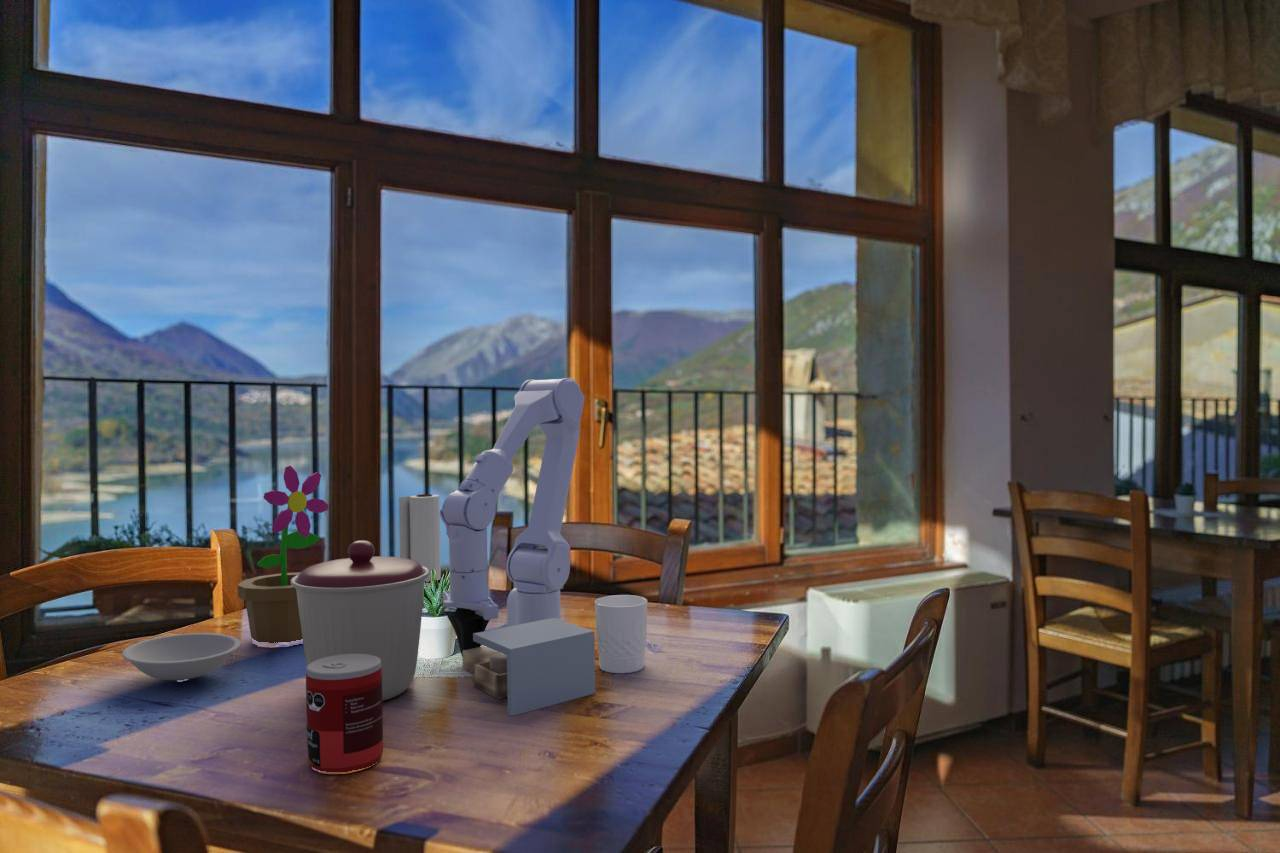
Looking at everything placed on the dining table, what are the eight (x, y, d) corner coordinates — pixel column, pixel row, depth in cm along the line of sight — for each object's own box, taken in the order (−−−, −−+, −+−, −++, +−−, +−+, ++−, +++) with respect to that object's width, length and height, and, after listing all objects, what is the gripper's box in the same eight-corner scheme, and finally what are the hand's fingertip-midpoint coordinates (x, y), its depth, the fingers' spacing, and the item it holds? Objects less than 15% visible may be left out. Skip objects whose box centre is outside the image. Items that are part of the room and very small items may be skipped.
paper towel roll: (446, 594, 178) (444, 493, 177) (432, 601, 172) (430, 496, 172) (414, 593, 179) (413, 493, 179) (400, 599, 174) (398, 496, 173)
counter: (474, 695, 114) (473, 633, 114) (554, 675, 122) (553, 617, 122) (511, 716, 106) (510, 649, 106) (595, 693, 115) (594, 631, 114)
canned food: (319, 749, 97) (317, 654, 97) (390, 746, 97) (388, 651, 97) (297, 778, 89) (295, 675, 89) (375, 774, 90) (373, 672, 90)
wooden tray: (446, 671, 125) (445, 642, 125) (499, 659, 131) (499, 631, 131) (497, 698, 113) (497, 666, 113) (554, 684, 119) (553, 653, 119)
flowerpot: (273, 656, 134) (270, 468, 133) (220, 644, 142) (216, 466, 141) (347, 635, 146) (344, 463, 146) (295, 625, 154) (292, 461, 153)
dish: (101, 683, 122) (101, 649, 122) (201, 659, 133) (201, 627, 133) (160, 707, 112) (159, 669, 111) (263, 678, 123) (262, 644, 123)
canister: (456, 679, 122) (454, 533, 121) (378, 724, 104) (375, 554, 104) (352, 668, 127) (349, 529, 127) (262, 709, 110) (258, 548, 110)
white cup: (642, 676, 122) (641, 607, 122) (589, 673, 123) (588, 605, 123) (652, 660, 129) (651, 595, 129) (602, 658, 131) (601, 594, 131)
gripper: (423, 566, 132) (425, 652, 132) (466, 579, 120) (468, 674, 121) (464, 560, 136) (466, 644, 136) (510, 573, 125) (511, 664, 125)
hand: (470, 657), depth 129 cm, fingers closed
